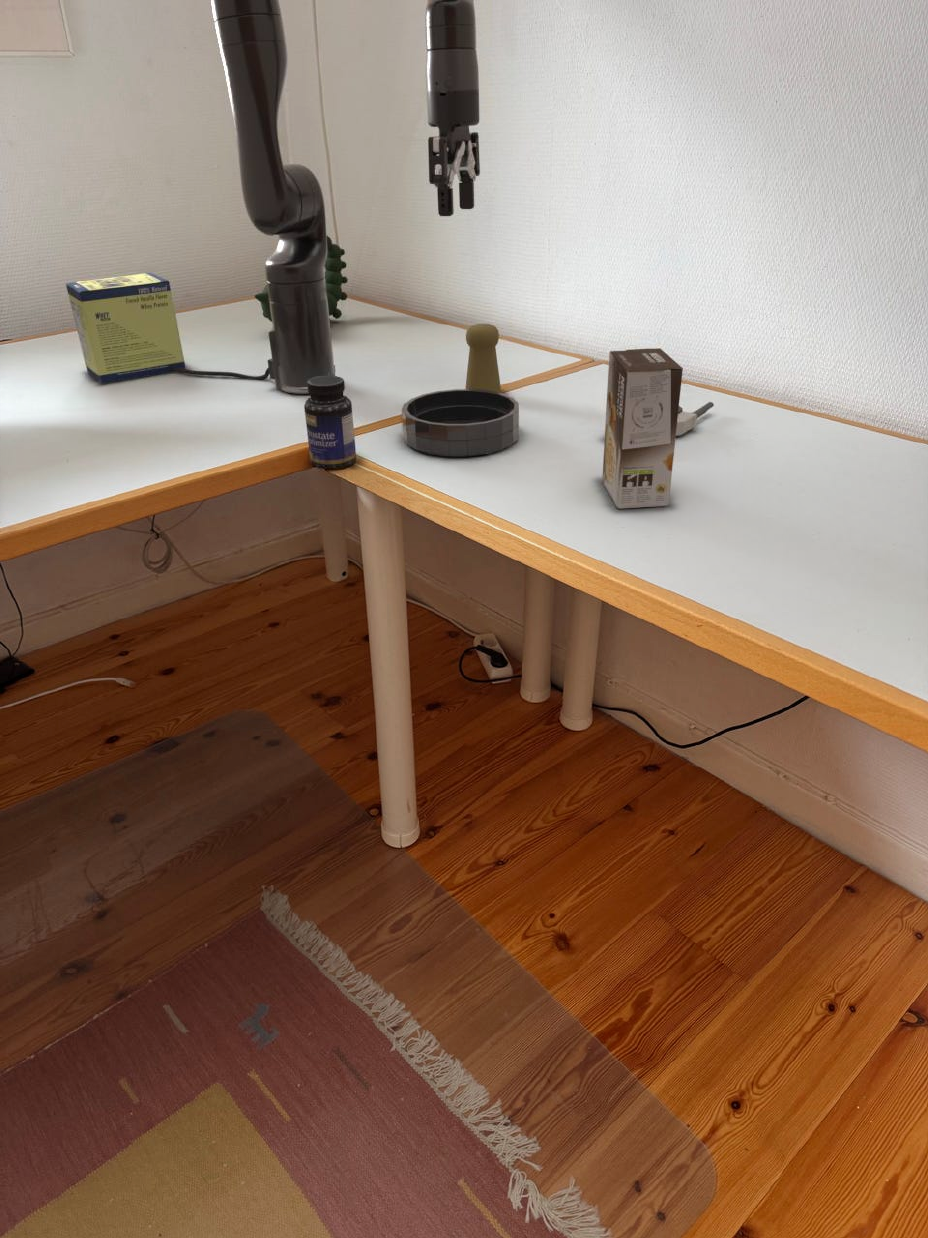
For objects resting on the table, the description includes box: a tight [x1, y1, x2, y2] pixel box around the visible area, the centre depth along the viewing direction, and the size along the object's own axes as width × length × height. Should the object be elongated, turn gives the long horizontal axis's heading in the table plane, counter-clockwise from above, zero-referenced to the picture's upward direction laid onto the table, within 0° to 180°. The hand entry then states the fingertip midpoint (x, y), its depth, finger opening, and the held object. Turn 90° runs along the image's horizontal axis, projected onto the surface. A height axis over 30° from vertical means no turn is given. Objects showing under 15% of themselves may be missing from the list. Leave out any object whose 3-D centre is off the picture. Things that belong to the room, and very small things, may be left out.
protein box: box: [65, 272, 187, 385], centre depth 152 cm, size 10×16×16 cm
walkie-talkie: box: [676, 401, 715, 436], centre depth 121 cm, size 9×4×20 cm
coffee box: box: [601, 347, 684, 510], centre depth 99 cm, size 9×6×16 cm
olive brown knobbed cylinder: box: [464, 323, 502, 393], centre depth 135 cm, size 6×6×11 cm
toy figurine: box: [254, 234, 348, 329], centre depth 176 cm, size 9×19×25 cm
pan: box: [401, 388, 520, 458], centre depth 120 cm, size 16×16×5 cm
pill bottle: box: [303, 375, 357, 471], centre depth 111 cm, size 6×6×11 cm
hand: (456, 212), depth 131 cm, fingers open, 8 cm apart
